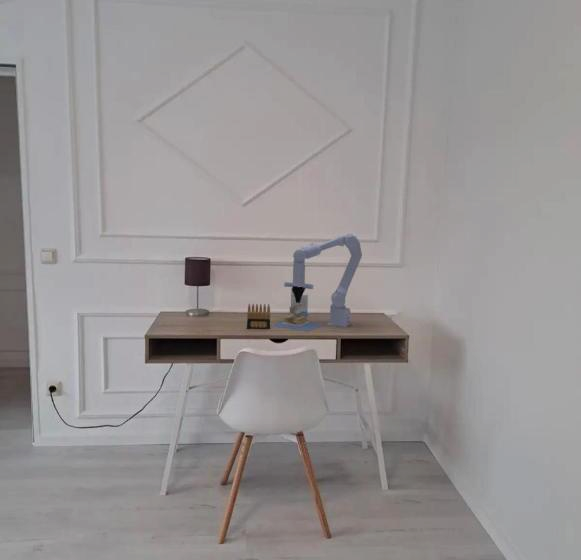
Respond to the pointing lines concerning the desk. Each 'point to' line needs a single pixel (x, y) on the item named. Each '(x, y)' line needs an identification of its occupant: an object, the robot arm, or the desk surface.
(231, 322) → the desk surface
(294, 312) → the top block
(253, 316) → the ammunition clip
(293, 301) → the ink box
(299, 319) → the base slab
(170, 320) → the desk surface
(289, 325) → the board
